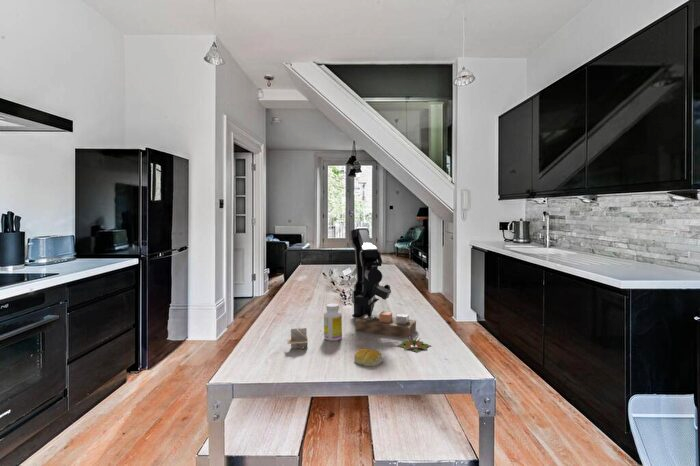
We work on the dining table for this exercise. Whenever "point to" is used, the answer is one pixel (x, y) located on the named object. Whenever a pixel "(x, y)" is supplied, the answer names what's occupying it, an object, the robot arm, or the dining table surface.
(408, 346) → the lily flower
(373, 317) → the grey cube
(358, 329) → the console
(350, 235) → the robot arm
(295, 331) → the architectural model
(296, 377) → the dining table surface
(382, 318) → the orange cube
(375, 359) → the bread roll
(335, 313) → the supplement bottle
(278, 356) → the dining table surface
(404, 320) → the grey block
